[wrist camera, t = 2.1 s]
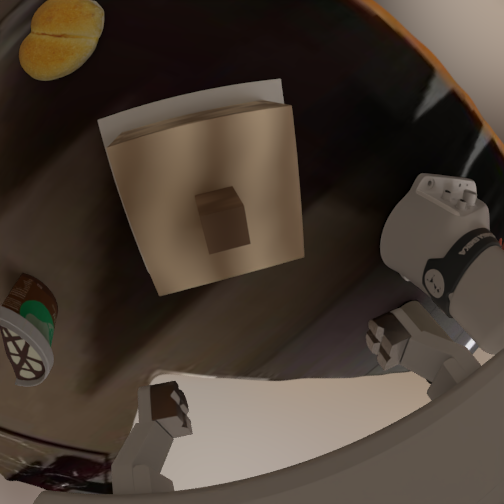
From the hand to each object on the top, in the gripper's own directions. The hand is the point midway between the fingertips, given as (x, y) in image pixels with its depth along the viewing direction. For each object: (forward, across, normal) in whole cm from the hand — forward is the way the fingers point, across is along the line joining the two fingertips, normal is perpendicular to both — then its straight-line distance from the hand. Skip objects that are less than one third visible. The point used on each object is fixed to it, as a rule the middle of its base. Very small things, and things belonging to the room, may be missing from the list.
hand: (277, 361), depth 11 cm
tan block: (+22, 0, 0) cm, 22 cm away
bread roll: (+23, -11, +19) cm, 32 cm away
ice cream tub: (+23, -25, -10) cm, 35 cm away
